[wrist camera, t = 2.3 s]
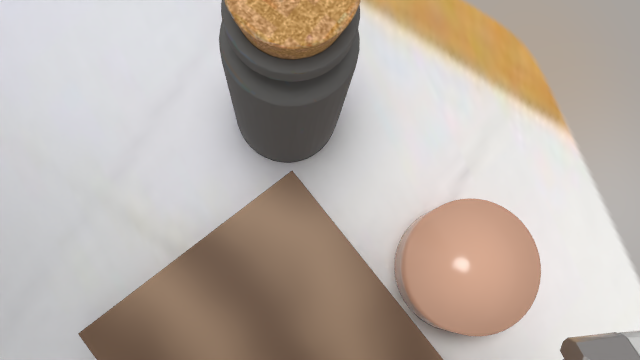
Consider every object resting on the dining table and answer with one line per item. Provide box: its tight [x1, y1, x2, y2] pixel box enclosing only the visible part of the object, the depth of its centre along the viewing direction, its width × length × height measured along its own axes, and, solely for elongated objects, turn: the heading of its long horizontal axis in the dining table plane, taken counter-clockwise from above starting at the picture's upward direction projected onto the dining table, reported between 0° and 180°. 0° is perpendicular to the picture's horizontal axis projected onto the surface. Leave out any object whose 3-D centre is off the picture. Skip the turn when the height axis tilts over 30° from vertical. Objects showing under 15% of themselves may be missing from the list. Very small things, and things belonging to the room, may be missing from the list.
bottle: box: [219, 0, 360, 162], centre depth 27 cm, size 6×6×15 cm
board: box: [79, 171, 443, 360], centre depth 31 cm, size 14×14×1 cm
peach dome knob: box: [394, 199, 541, 336], centre depth 31 cm, size 7×7×4 cm
